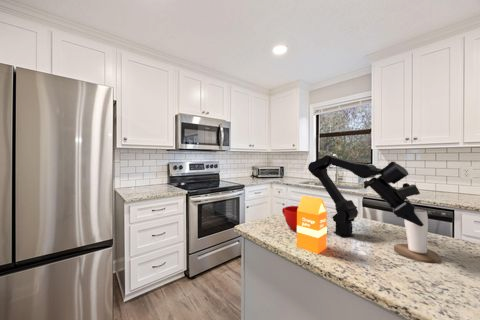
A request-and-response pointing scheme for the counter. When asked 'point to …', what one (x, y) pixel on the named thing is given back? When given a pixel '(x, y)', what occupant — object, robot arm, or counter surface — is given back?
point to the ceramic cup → (291, 216)
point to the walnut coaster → (417, 254)
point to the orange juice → (311, 224)
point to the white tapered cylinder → (417, 233)
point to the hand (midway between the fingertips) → (420, 223)
